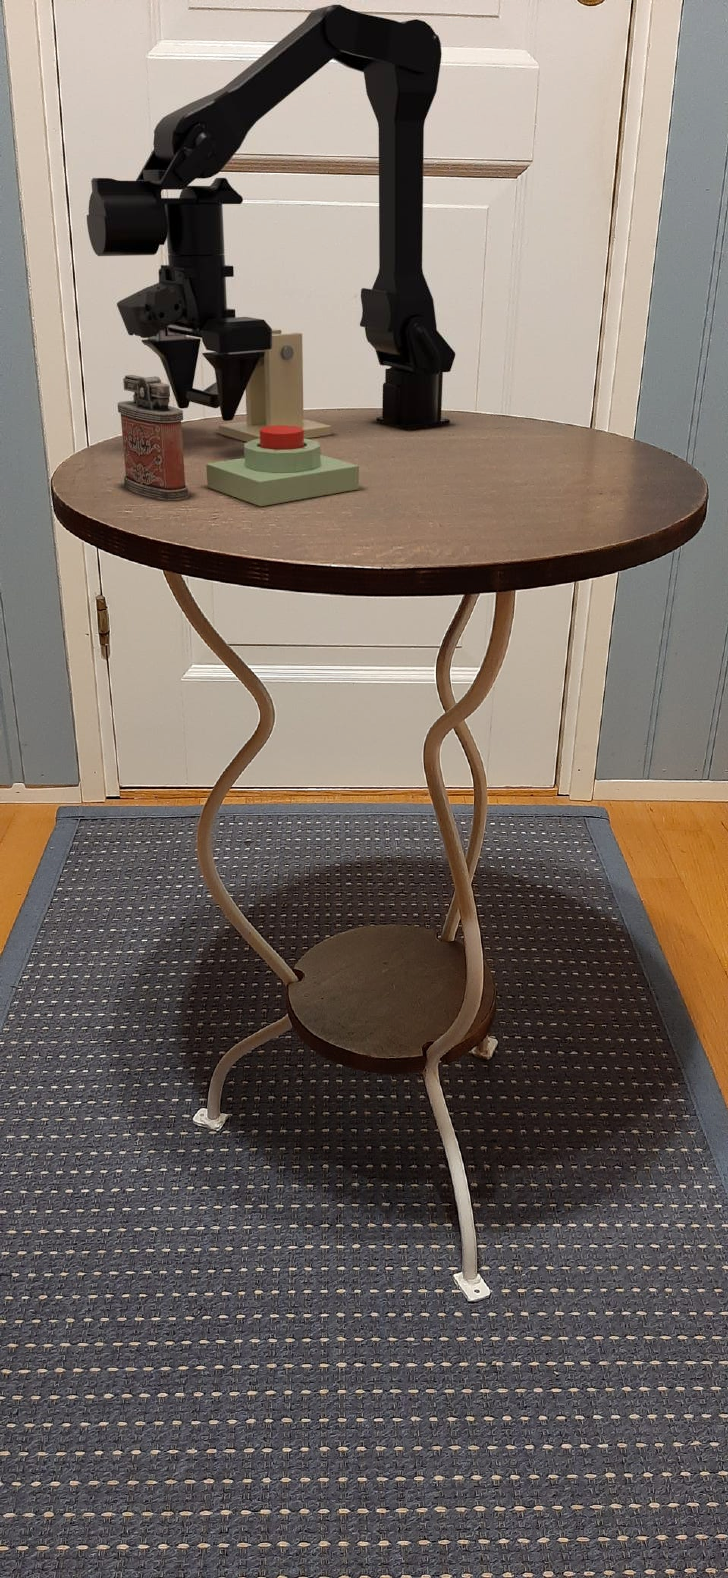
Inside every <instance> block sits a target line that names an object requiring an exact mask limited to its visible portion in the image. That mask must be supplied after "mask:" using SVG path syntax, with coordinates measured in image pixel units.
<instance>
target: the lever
mask: <svg viewBox="0 0 728 1578" xmlns="http://www.w3.org/2000/svg"><path fill="white" fill-rule="evenodd" d="M272 334H278V333H272ZM261 351H264V350H261ZM262 365H263V366H264V357H261V358H260V360H259V362H258V364H257V366H256V368H255V370H256V369H257V368H259V367H260V366H262ZM255 370H254V371H255ZM186 397H187V399H188V401H190V403H194V404H196V405H197V404H198V405H201V406H205V407H208V408H212V409H218V408H220V405H219V397H218V390H217V383H216V381H215V382H214V383H212V384H211V385H209V386H207V387H206V388H205V389H204V390H202V389H198V388H194V387H193V388H190V389H189V390H188V391H187V393H186Z"/></svg>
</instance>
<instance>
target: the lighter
mask: <svg viewBox="0 0 728 1578" xmlns="http://www.w3.org/2000/svg"><path fill="white" fill-rule="evenodd" d="M122 380H123V391H128V392H131V393H134V394H133V395H132V398H133V400H123V401H119V402H117V413H119V414H120V423H121V435H122V447H123V457H124V458H123V459H124V469H125V470H124V471H125V475H124V476H123V482H124V483H123V484H124V488H125V489H128V490H129V491H130V492H133V493H136V494H138V495H142V496H145V497H149V498H154V499H157V500H163V501H179V500H185V499H187V498H188V497H189V491H188V490H189V488H188V485H187V484H186V477H185V476H186V475H185V460H184V443H183V429H182V426H183V425H182V421H183V420H184V410H183V409H181V408H179V407H174V406H171V405H169V404H170V402H171V401H170V397H171V388H170V387H171V386H170V383H169V384H168V383H163V382H162V380H161V378H160V377H159V376H156V375H155V376H147V377H145V376H141V375H136V374H125V375H124V377H123V378H122Z"/></svg>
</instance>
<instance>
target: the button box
mask: <svg viewBox="0 0 728 1578" xmlns="http://www.w3.org/2000/svg"><path fill="white" fill-rule="evenodd" d="M243 454H244V455H243V456H244V457H242V458H236V459H235V458H234V459H229V460H222V461H213V462H207V463H206V464H205V466H206V484H207V485H206V486H207V488H208V489H211V490H214V491H217V492H219V493H223V494H225V495H229V496H231V497H233V498H237V499H239V500H241V501H245V502H246V503H249V504H253V505H256V506H258V507H264V506H265V507H266V506H271V505H277V504H283V503H289V502H295V501H300V500H305V499H306V500H307V499H311V498H317V497H323V496H328V495H334V494H335V495H336V494H340V493H346V492H351V491H357V490H359V489H360V465H358V464H355V463H351V462H348V461H344V460H340V459H338V458H334V457H331V456H327V455H323V454H321V445H320V443H319V441H316V440H313V439H310V438H306V439H304V447H303V448H299V449H292V450H274V449H264V448H261V447H260V439H256V440H252V441H249V442H245V443H243Z"/></svg>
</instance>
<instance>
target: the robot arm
mask: <svg viewBox="0 0 728 1578" xmlns="http://www.w3.org/2000/svg"><path fill="white" fill-rule="evenodd" d="M442 55H443V53H442V44H441V40H440V36H439V35H438V34H437V33H436V32H435V31H434V29H433V28H432V26H431V25H430V24H429V23H427V22H426V21H425V20H422V19H417V18H416V19H415V18H414V19H410V20H404V21H397V20H394V19H390V18H385V17H381V16H376V15H372V14H366V13H362V12H359V11H357V10H353V9H350V8H348V7H346V6H344V5H341V4H330V5H327V6H322V7H318V8H316V9H314V10H312V11H311V12H310V13H309V14H308V15H307V17H306V18H305V19H304V20H303V22H302V23H300V24H299V25H298V26H296V27H295V28H294V29H292V31H290V32H289V33H288V34H287V35H286V36H285V37H283V38H281V40H279V41H278V42H277V43H276V44H274V45H273V46H272V47H271V48H270V49H269V50H267V51H266V52H265V53H264V54H262V55H261V56H260V57H259V58H258V59H257V60H255V61H254V62H253V63H251V64H250V65H249V66H248V67H247V68H246V69H244V70H243V71H242V72H241V73H239V74H238V75H237V76H236V77H234V78H233V79H232V80H231V81H230V82H228V83H227V84H225V86H223V87H222V88H220V89H218V90H216V91H214V92H213V93H210V94H207V95H206V96H203V97H201V98H198V99H197V100H194V101H192V102H190V103H188V104H186V105H184V106H182V107H180V108H178V109H176V110H174V111H172V112H170V113H169V114H166V115H165V116H163V117H162V118H161V119H160V120H159V122H158V123H157V124H156V126H155V128H154V130H153V142H152V144H153V149H152V151H151V153H150V155H149V157H148V158H147V160H146V162H145V163H144V165H143V167H142V169H141V170H140V173H139V174H138V176H137V178H136V180H118V179H114V178H111V177H92V179H91V181H90V182H91V194H90V196H89V200H88V214H87V215H86V225H87V226H86V227H87V234H88V237H89V242H90V244H91V248H92V251H93V252H94V254H95V255H96V256H97V257H126V256H128V257H129V256H134V257H135V256H156V254H157V253H158V251H159V249H160V246H164V245H165V243H166V247H167V261H168V262H167V263H168V264H160V268H159V269H158V282H157V283H155V284H152V285H150V286H147V287H144V288H143V289H140V290H138V291H137V292H135V293H132V294H131V295H129V296H126V297H125V298H123V299H121V300H119V301H118V302H117V303H116V307H117V309H118V312H119V314H120V317H121V319H122V322H123V324H124V327H125V329H126V332H127V334H128V336H130V337H131V336H133V335H134V336H137V337H140V338H141V343H142V344H143V345H144V346H146V347H148V348H149V349H150V350H152V351H153V352H154V354H156V355H157V356H158V357H159V359H160V361H161V364H162V366H163V369H164V371H165V374H166V377H167V381H168V382H169V386H170V387H171V388H170V389H171V391H172V393H173V397H174V399H175V402H176V406H177V408H178V409H180V410H183V409H188V408H189V407H190V403H191V402H190V401H188V399H187V397H186V393H187V391H188V390H189V389H190V388H194V383H195V382H194V381H195V376H196V370H197V364H198V359H199V352H200V347H201V342H202V344H203V347H204V348H205V350H206V351H209V352H202V353H201V354H202V356H203V358H205V360H206V361H207V362H208V364H210V365H211V367H212V368H213V369H214V375H215V382H216V383H217V390H218V397H219V405H220V407H219V410H220V415H221V419H222V421H224V422H229V421H230V422H231V421H233V420H234V419H235V416H236V414H237V411H238V408H239V405H240V403H241V402H242V399H243V396H244V394H245V392H246V390H245V389H246V387H247V384H248V382H249V380H250V378H251V376H252V374H253V372H254V370H255V368H256V366H257V364H258V362H259V360H260V358H261V357H265V351H261V350H267V349H272V327H271V326H270V325H269V324H268V323H267V321H266V320H265V319H262V318H256V317H250V316H238V317H237V316H236V309H235V308H228V300H227V278H234V277H235V273H234V272H235V271H234V269H235V268H234V265H228V264H226V257H225V256H226V255H225V233H224V211H223V210H224V209H223V208H224V207H223V205H242V204H243V201H244V198H243V195H241V194H240V193H239V192H238V191H237V190H235V188H234V187H233V186H231V184H230V183H229V180H228V179H227V178H226V177H215V179H214V180H213V182H212V183H211V184H210V185H190V184H191V183H193V182H194V181H195V180H196V179H197V180H199V179H201V180H202V179H210V178H213V177H214V176H216V175H218V174H219V173H220V172H221V171H222V170H223V169H224V167H225V166H227V164H228V163H229V162H230V160H231V159H232V158H233V156H235V154H236V153H237V152H238V151H239V149H240V148H241V147H242V144H243V143H244V141H245V140H246V137H247V135H248V133H249V132H250V131H251V129H252V128H253V127H254V126H255V125H256V123H257V122H258V121H259V120H261V118H263V117H265V116H266V115H267V114H268V113H269V112H270V111H271V110H272V109H274V108H275V107H276V106H278V105H279V104H280V103H281V102H282V101H284V100H285V99H286V98H287V97H289V96H290V95H291V94H292V93H293V92H295V90H297V89H298V88H299V87H301V86H302V85H303V84H304V83H305V82H307V81H308V80H309V79H310V78H311V77H312V76H314V75H315V74H316V73H317V72H319V71H320V70H321V69H322V68H324V67H325V66H326V65H327V64H329V62H331V61H332V60H334V61H335V62H337V63H339V64H340V65H342V66H344V67H346V68H349V69H351V70H354V71H357V72H359V73H360V72H361V73H362V74H363V78H364V84H365V92H366V96H367V98H368V101H369V103H370V107H371V108H372V111H373V114H374V116H375V118H376V122H377V128H378V256H379V257H378V265H379V266H378V272H377V275H376V278H375V280H374V283H373V285H372V288H365V287H362V288H361V289H360V301H361V309H362V312H361V313H362V314H361V319H360V322H359V327H361V328H364V333H365V338H366V340H367V342H368V344H370V346H371V347H372V348H373V349H374V351H375V353H376V357H377V360H378V363H379V365H380V366H383V367H385V366H386V367H389V368H385V370H384V371H385V373H384V382H383V383H382V404H381V405H382V406H381V407H382V413H381V414H382V415H381V416H376V417H375V421H376V422H377V423H382V424H387V425H390V426H395V427H399V428H403V429H406V430H407V429H408V430H413V429H420V428H428V427H435V426H441V425H448V424H450V423H451V419H450V418H446V417H443V416H442V410H443V409H442V407H443V383H444V382H443V381H444V380H443V379H444V373H450V372H451V371H452V367H453V365H454V361H455V358H456V351H455V350H454V349H453V348H452V346H450V344H449V343H448V342H447V340H445V338H444V336H442V335H441V333H440V332H439V330H438V325H437V319H436V318H437V317H436V311H435V303H434V302H435V301H434V298H433V295H432V292H431V290H430V287H429V284H428V282H427V280H426V277H425V274H424V271H423V247H424V245H423V244H424V243H423V242H424V241H423V240H424V239H423V237H424V236H423V233H424V158H425V157H424V155H425V154H424V152H425V149H424V148H425V147H424V145H425V123H426V119H427V117H428V114H429V111H430V109H431V106H432V104H433V101H434V99H435V97H436V94H437V91H438V85H439V78H440V72H441V71H440V70H441V63H442ZM163 190H165V191H166V190H167V191H168V190H171V191H174V190H178V191H179V190H181V191H180V193H179V197H162V191H163Z"/></svg>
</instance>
